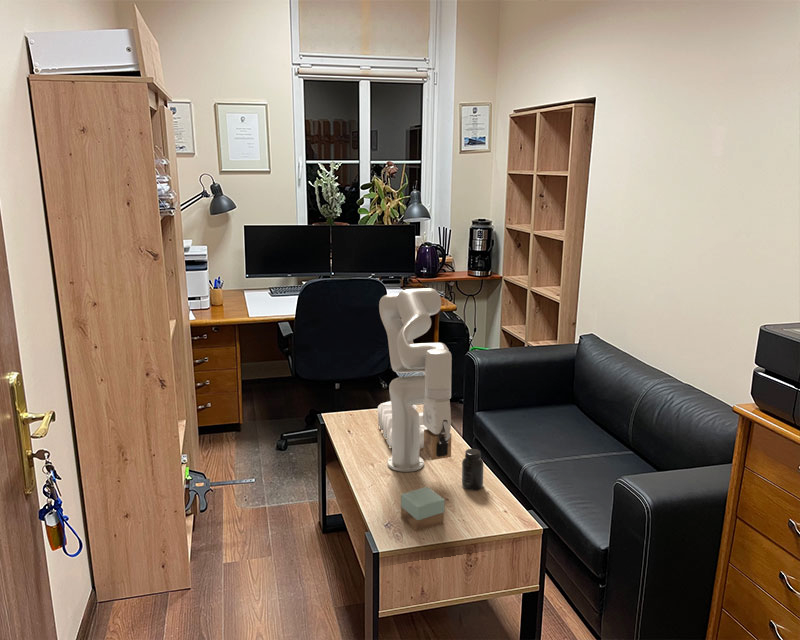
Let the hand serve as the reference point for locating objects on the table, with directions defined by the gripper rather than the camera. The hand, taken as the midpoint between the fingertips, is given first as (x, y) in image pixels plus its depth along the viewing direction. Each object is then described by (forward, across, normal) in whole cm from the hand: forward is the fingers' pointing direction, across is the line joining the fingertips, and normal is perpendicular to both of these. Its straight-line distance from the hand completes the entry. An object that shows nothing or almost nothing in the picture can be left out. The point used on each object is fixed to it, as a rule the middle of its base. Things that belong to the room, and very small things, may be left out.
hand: (437, 450), depth 189 cm
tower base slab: (+20, +2, -6) cm, 21 cm away
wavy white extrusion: (+19, -58, +12) cm, 63 cm away
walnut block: (+1, 0, 0) cm, 1 cm away
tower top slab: (+16, +3, -6) cm, 17 cm away
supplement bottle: (+20, -12, +18) cm, 29 cm away
